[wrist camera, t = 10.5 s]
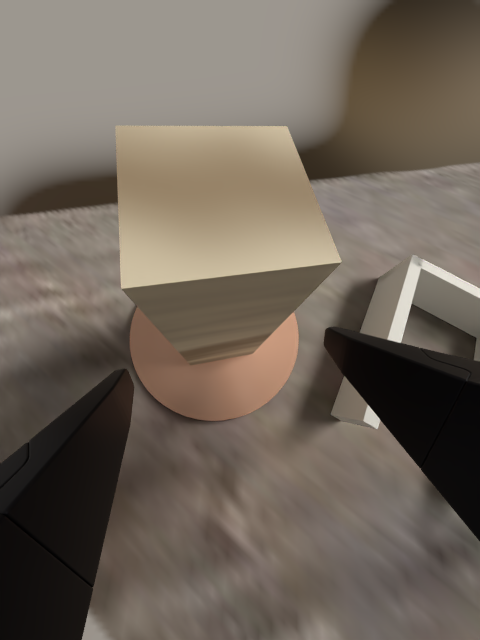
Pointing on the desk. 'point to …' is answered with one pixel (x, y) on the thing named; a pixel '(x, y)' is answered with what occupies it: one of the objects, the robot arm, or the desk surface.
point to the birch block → (217, 234)
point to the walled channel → (392, 312)
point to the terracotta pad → (212, 373)
